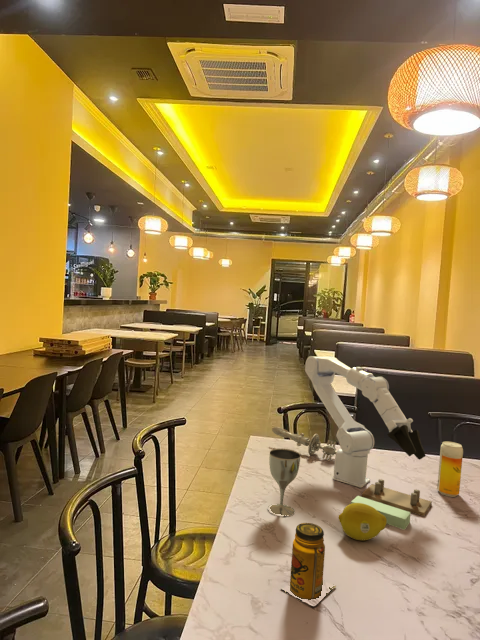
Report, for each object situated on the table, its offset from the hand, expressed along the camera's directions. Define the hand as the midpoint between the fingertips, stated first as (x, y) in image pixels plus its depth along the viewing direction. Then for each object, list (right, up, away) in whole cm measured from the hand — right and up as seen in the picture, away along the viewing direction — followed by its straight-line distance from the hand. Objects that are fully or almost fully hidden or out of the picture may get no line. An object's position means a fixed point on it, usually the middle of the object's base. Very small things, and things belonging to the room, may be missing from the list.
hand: (417, 456), depth 118 cm
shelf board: (-11, -15, -3) cm, 19 cm away
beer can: (+15, -16, +16) cm, 27 cm away
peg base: (-3, -15, +8) cm, 17 cm away
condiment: (-34, -15, -34) cm, 50 cm away
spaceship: (-21, -13, +42) cm, 48 cm away
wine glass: (-37, -14, -3) cm, 39 cm away
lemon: (-19, -15, -14) cm, 28 cm away
